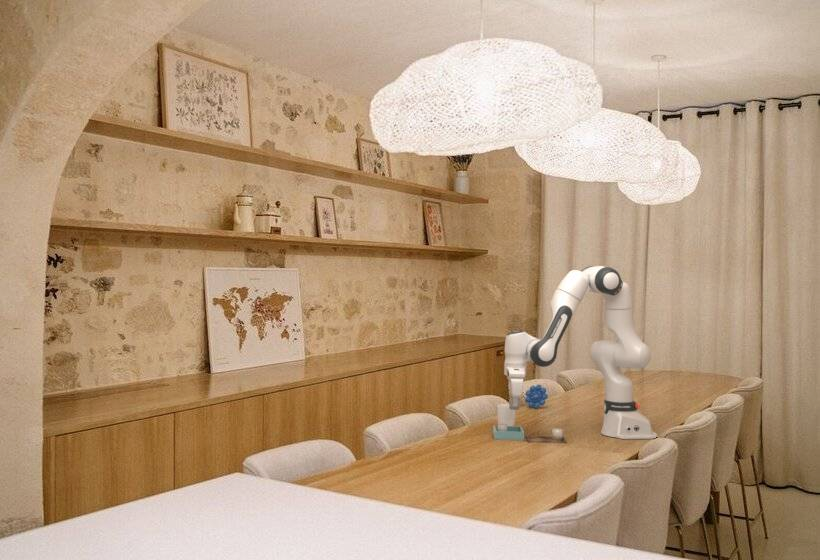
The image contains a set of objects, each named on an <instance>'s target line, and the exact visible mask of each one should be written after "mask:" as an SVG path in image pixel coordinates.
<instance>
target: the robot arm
mask: <svg viewBox="0 0 820 560" xmlns="http://www.w3.org/2000/svg"><path fill="white" fill-rule="evenodd" d="M589 292H591V293H592V292H593V293H597V294H602V295H603V297H604V298H603V299H604V323H605V324H604V325H605V327H606V329H607V330H608V331H610V332H611V333H613V334H614V335H615V337H616V338H617V340H612V339H602V340H595V341H594V342H592V344H591V345H590V348H589V357H590V359H591V361H592V362H593V363H594V364H595V365H596V366H597V368H599V370H600V372H601V374H602V376H603V380H604V388H605V389H604V390H605V392H604V393H605V394H604V397H605V399H604V400H603V413H604V414H603V415H604V416H603V422H602V428H601V431H600V434H602V435H603V436H606V437H612V438H617V439H621V440H637V439H639V440H642V439H644V440H645V439H647V440H649V439H650V440H652V439H653V440H654V438H655V439H657V438H658V434H657V432H655V431H653V429H652V424H651V421H650V420H649V419H648V418H647V417H646V416H645V415H644V414H642V413H641V412H640V411H639V410H638V409H640V408H641V407H642V405H641V404H640V403H637V402H636V401H634V400H633V399H634V398H633V396H634V384H633V382H632V380H631V379H630V378H629V377H628V376H626V375H625V374H624V373H623V371H622V368H625V369H633V370H634V369H645V368H646V367H647V366H648V365H649V364H650V362H651V358H652V353H651V352H652V351H651V349H650V348H649V346H648V345H647V344H646V343H644V342H643V341H642V340H641V339H640V337H639V336H638V333H637V331H636V328H635V325H634V316H633V299H632V297H633V296H632V291H631V288H630V286H629V284H628V283H626V282H624V281H622V277H621V275H620V274H619V272H618V271H617V270H616V269H614V268H613V267H609V266H605V265H596V266H595V265H591V266H590V265H589V266H586V267H585V268H584V269H582V270H577V269H573V270H570V271H568V272H567V274H566V275H565V276H564V277H563V279H562V280H561V281H560V283H559V284H558V286H557V288H556V289H555V291H554V293H553V294H552V296H551V297H552V298H551V300H550V303H549V305H550V309H551V311H552V319H551V322H550V324H549V326H548V328H547V329H546V331H545V334H544V335H543V337H542V338H541V339H539V338H538V337H535V336H533V335H531V334H529V333H527V332H526V331H525V330H521V329H519V330H512V331H510V332H508V333H507V334H506V335H505V341H504V356H505V359H504V363H503V364H504V365H503V375H504V376H506V379H507V380H508V383H507V384H508V387H507V388H508V391H509V393H510V397H513V406H518V398H521V397H522V395H523V388H524V379H525V378H526V376H527V362H532V363H533V364H534V365H536V366H538V367H541V368H546V367H549V366H551V365H552V364H554V362H555V361H556V358H557V356H558V349H559V345H560V341H561V340H562V338H563V335H565V331H566V330H567V329H568V326H569V323H570V321H571V320H572V318H573V315H574V314H575V312H577V309H578V308H579V306H580V304H581V303H582V301H583V299H584V297H585V296H586V294H587V293H589ZM656 437H657V438H656Z"/></svg>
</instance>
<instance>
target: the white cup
mask: <svg viewBox="0 0 820 560" xmlns="http://www.w3.org/2000/svg"><path fill="white" fill-rule="evenodd" d="M496 408H497V410H496V411H497V425H498V424H506V425H508V426H515V422H516V413H517V412H516V411H517V410H511V409H509V403H500V404H497V406H496Z"/></svg>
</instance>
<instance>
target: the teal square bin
mask: <svg viewBox="0 0 820 560" xmlns="http://www.w3.org/2000/svg"><path fill="white" fill-rule="evenodd" d="M497 428H498V425H493V426H492V433H493V438H494V440H505V441H506V440H508V441H509V440H510V441H511V440H515V441H524V440H525V431H524V428H523V427H522V426H521V425H518V426H516V425H514V426H508V428H507V431H497Z"/></svg>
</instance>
